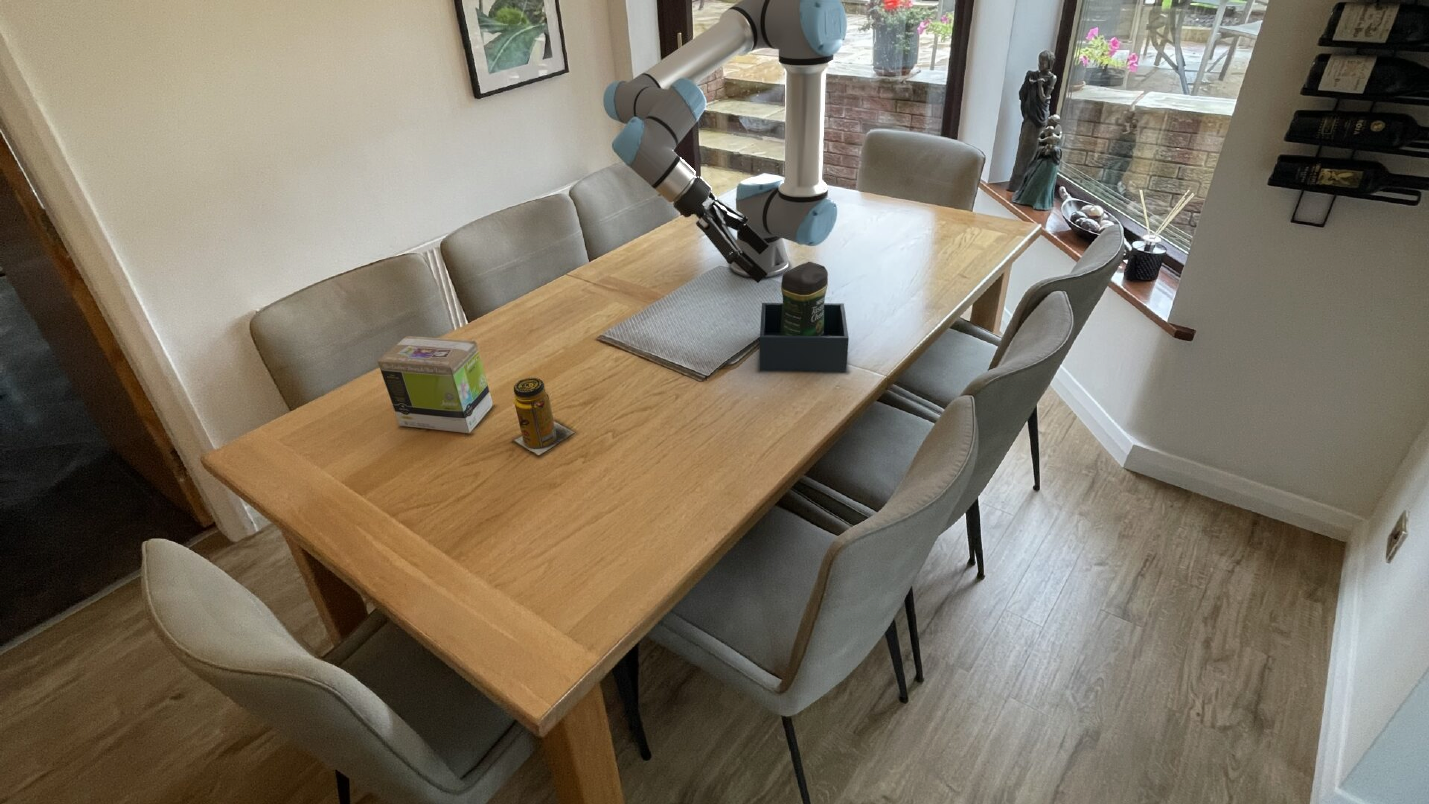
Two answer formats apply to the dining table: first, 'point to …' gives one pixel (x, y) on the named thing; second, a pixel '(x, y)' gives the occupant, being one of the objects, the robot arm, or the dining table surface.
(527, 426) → the condiment
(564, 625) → the dining table surface
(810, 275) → the coffee jar
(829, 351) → the open storage box
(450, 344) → the tea box
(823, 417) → the dining table surface
